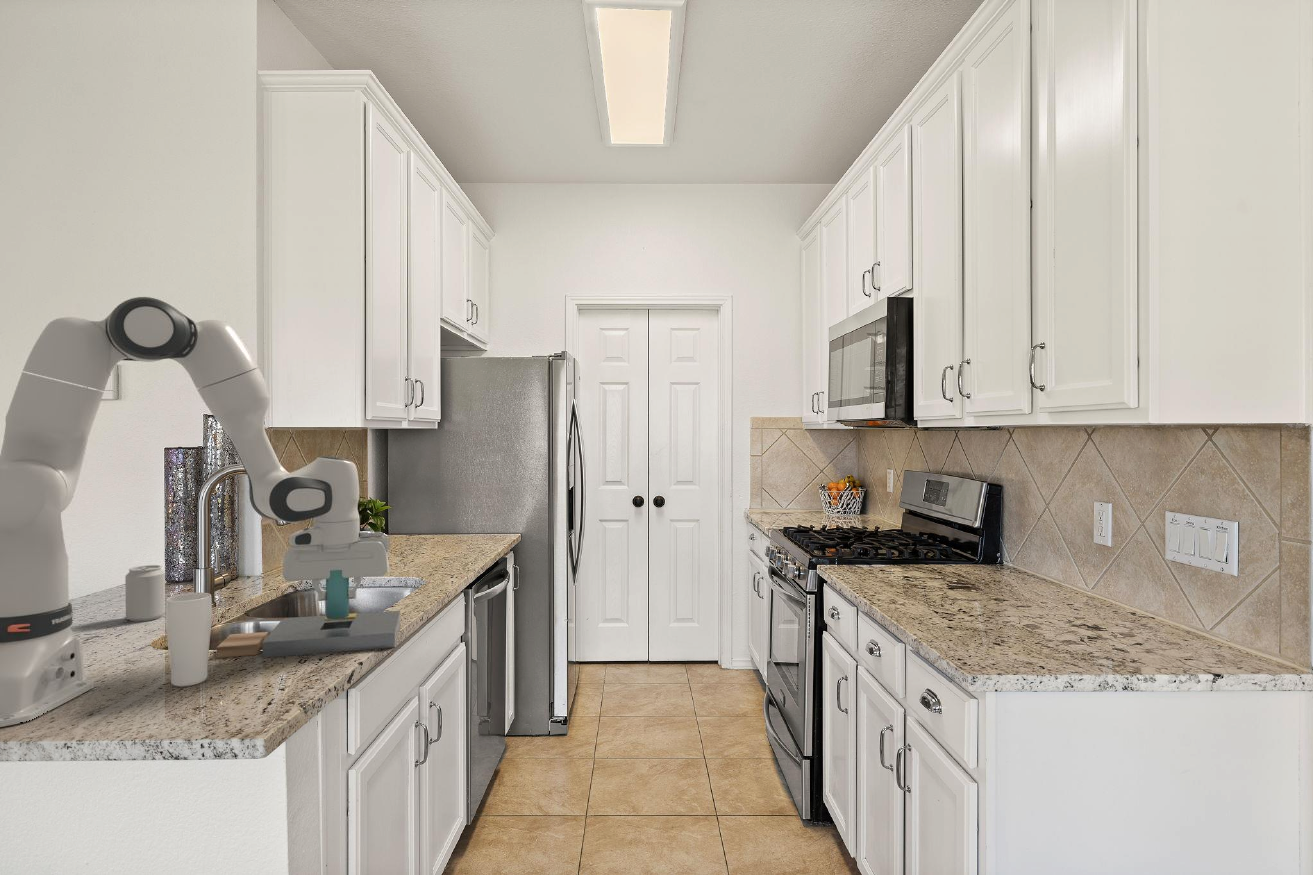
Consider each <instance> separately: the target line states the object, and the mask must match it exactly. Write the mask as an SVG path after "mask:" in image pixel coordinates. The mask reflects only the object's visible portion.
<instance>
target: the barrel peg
mask: <svg viewBox="0 0 1313 875" xmlns="http://www.w3.org/2000/svg"><path fill="white" fill-rule="evenodd" d="M349 589H350V578H343V576H342V570H335V571H330V578H329V579H325V591H326V600H325V606H326V607H325V612H326V613H325V616H326V618H328V619H340V618H345V617H348V616H349V614H350V599H348V596H349V595H348V591H349Z"/></svg>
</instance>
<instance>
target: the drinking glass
mask: <svg viewBox="0 0 1313 875" xmlns="http://www.w3.org/2000/svg"><path fill="white" fill-rule="evenodd" d="M164 614H165V630H166V638H167V647H168V649H167V650H168V655H169V656H168V657H169V665H170V666H169V667H170V683H171V685H173V686H175V687H180V688H181V687H191V686H196V685H198V684H202V683H203V682H205V681H206V680H207V678H208V675H209V674H208V667H209V666H208V665H209V653H210V640H211V633H212V631H211V630H212V620H213V602H212V594H211V593H208V592H188V593H181V594H176V595H172V596H170V597H167V598H165V613H164Z"/></svg>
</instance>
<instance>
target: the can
mask: <svg viewBox="0 0 1313 875" xmlns="http://www.w3.org/2000/svg"><path fill="white" fill-rule="evenodd" d="M128 571H129V572H128V573H126V575H125V578H124V580H125V618H126V619H128V620H129V621H130V622H136V623H137V622H140V623H141V622H148V621H154V620H159V619H160V618H161V617H162V616H163V615H164V614H165V612H166V572H165V571H164V570H163V569H162V565H160V564H151V565H149V564H147V565H139V566H134V567H131V568H129V569H128Z"/></svg>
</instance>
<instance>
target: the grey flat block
mask: <svg viewBox="0 0 1313 875" xmlns="http://www.w3.org/2000/svg"><path fill="white" fill-rule="evenodd" d="M400 627H401V610H390V611H376V612H373V611H372V612H359V613H358V612H354V613H349V616H348V617H345V618H340V619H328V618H326V615H314V616H313V615H312V616H301V617H284V618H282V619H281V620H279V622H278V623H277V625H276V626H275V627H274V628H273V630H272V631H271V632H270V633H268V637H267V638H266V639H265V640H264V641H263V642H262V644H263V648H262V658H263V659H267V658H277V657H280V658H281V657H289V656H292V657H293V656H303V655H306V656H307V655H315V654H316V655H318V654H328V653H341V652H353V651H356V652H357V651H365V650H366V651H367V650H369V651H370V650H378V649H379V650H380V649H393V648H396V644H397V639H398V635H399V634H398V633H399V631H400Z"/></svg>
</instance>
